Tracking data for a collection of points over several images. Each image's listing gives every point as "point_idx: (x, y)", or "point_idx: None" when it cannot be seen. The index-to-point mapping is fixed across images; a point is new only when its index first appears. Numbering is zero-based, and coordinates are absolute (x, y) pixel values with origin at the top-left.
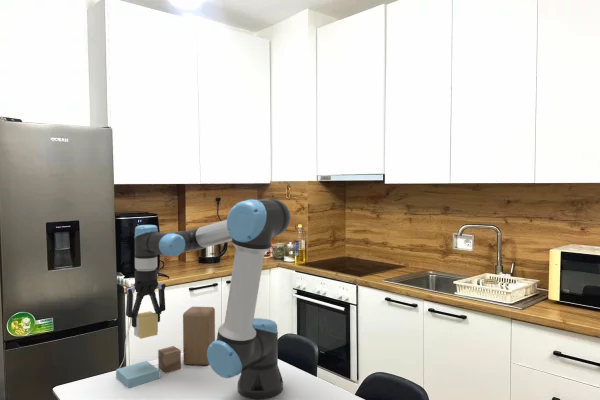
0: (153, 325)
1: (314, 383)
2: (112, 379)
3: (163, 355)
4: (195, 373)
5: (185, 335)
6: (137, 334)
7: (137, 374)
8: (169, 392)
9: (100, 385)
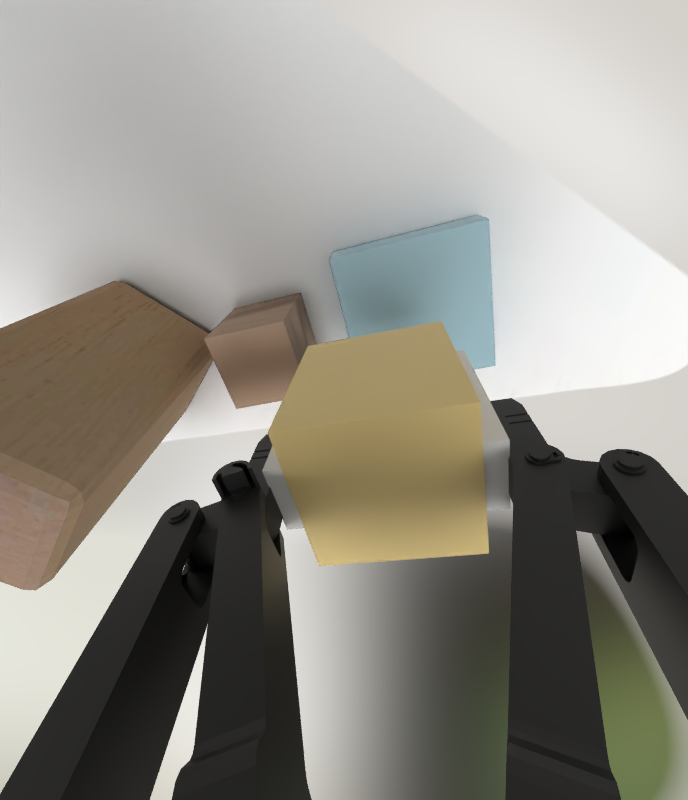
0: (329, 375)
1: None
2: (503, 341)
3: (292, 338)
4: (175, 221)
5: (146, 395)
6: (464, 357)
7: (432, 259)
8: (315, 36)
9: (562, 308)
